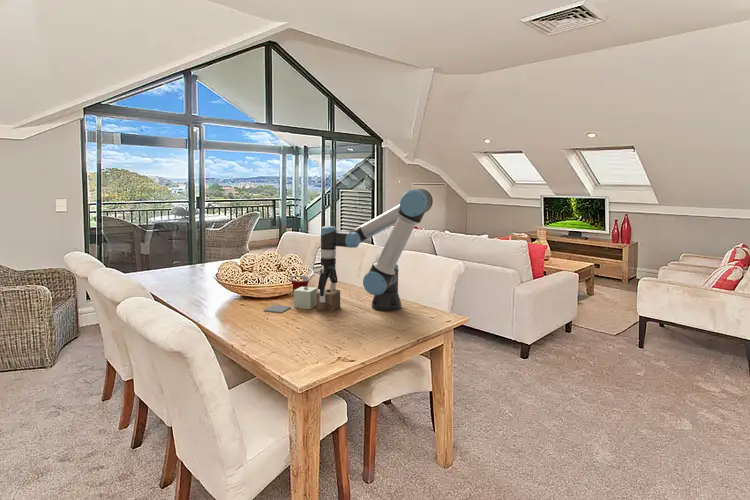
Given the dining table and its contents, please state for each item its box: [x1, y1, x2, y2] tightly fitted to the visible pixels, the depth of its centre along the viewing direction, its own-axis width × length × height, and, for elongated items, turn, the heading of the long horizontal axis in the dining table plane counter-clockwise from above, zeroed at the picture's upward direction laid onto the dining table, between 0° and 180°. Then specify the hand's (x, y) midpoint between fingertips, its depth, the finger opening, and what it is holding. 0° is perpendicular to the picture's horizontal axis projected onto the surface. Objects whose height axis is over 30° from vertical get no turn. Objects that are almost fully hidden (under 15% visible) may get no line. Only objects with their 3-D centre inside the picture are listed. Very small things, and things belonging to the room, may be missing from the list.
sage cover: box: [293, 286, 319, 310], centre depth 245 cm, size 9×9×10 cm
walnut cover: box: [316, 288, 341, 313], centre depth 240 cm, size 9×9×10 cm
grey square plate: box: [263, 304, 292, 314], centre depth 239 cm, size 10×10×1 cm
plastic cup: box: [289, 275, 311, 294], centre depth 258 cm, size 11×11×12 cm
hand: (327, 298), depth 240 cm, fingers open, 13 cm apart
